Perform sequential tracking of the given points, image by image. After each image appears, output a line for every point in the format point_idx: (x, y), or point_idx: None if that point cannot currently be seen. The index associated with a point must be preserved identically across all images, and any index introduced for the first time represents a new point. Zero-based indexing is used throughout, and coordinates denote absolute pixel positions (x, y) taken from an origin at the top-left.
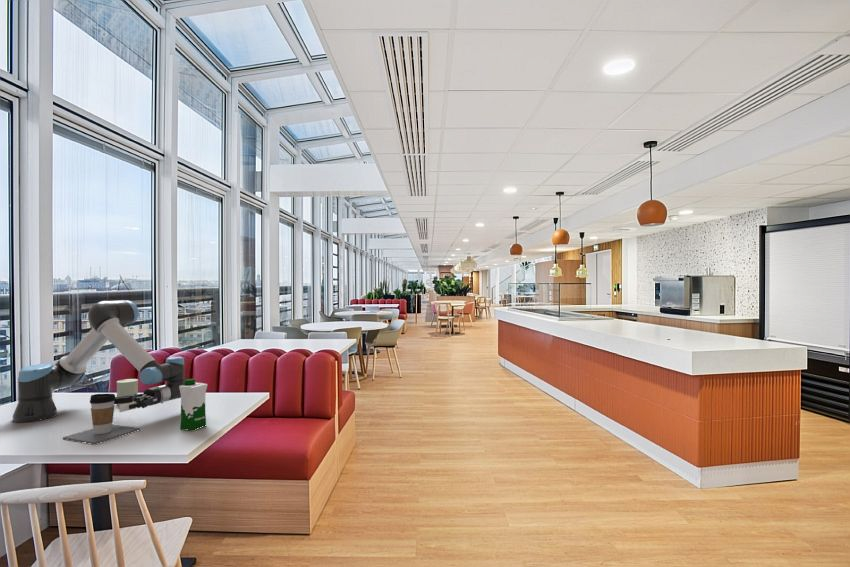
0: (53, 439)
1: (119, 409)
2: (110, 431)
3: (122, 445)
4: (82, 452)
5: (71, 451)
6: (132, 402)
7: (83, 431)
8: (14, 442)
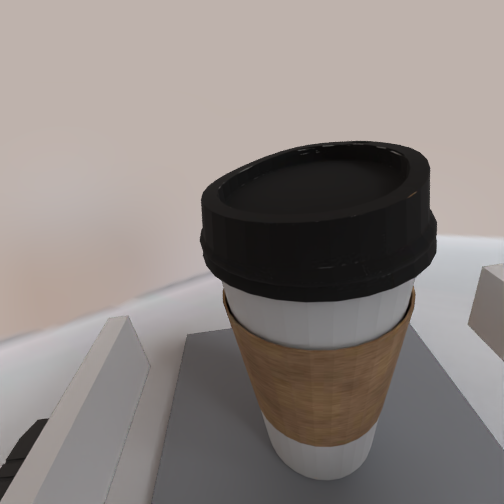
0: (425, 298)
1: (141, 347)
2: (275, 450)
3: (56, 387)
4: (163, 300)
5: (207, 290)
6: (28, 465)
7: (446, 378)
8: (483, 244)
